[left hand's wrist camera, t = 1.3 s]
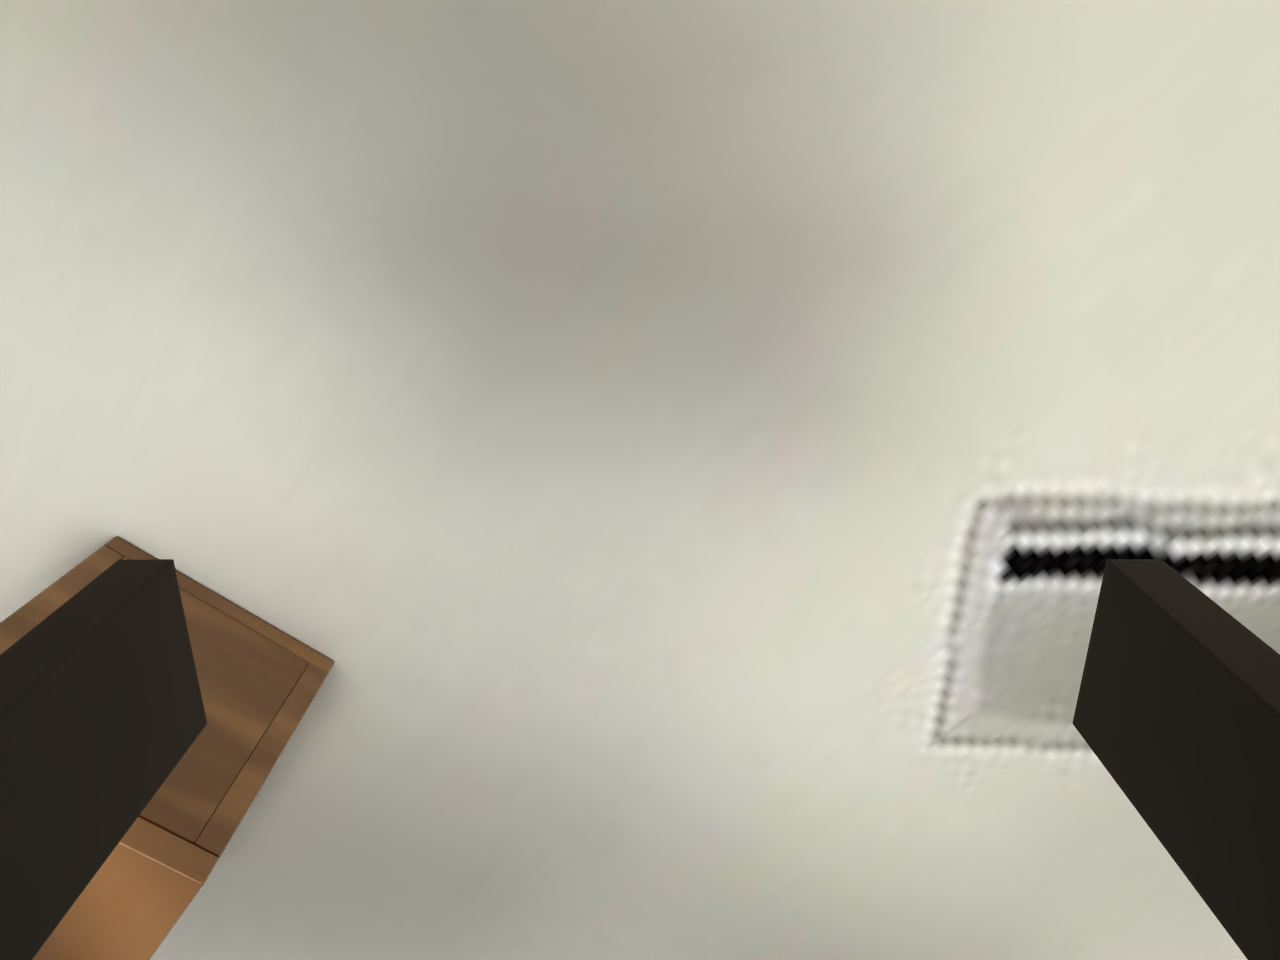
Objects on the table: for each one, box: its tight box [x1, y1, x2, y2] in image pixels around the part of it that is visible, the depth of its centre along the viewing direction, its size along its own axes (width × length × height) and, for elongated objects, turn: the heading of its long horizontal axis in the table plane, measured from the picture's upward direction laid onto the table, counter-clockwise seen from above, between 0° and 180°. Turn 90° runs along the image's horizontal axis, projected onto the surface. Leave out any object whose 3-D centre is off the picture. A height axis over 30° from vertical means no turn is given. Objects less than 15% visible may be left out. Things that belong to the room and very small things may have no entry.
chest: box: [0, 537, 334, 858], centre depth 34 cm, size 13×10×11 cm
